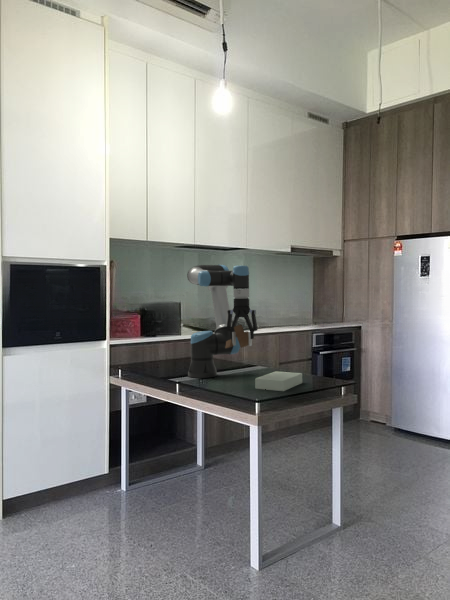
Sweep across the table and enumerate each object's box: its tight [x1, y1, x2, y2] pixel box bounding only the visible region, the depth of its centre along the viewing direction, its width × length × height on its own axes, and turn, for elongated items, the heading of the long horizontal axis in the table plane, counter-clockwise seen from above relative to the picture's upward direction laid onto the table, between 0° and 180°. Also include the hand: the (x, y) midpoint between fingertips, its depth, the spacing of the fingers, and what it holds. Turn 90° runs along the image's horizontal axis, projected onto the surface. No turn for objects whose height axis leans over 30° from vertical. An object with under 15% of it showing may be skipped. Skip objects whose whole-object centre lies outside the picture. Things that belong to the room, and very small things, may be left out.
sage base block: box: [254, 370, 303, 392], centre depth 232 cm, size 14×22×5 cm, turn 149°
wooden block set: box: [225, 324, 250, 349], centre depth 240 cm, size 18×9×10 cm, turn 146°
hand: (242, 345), depth 238 cm, fingers closed on wooden block set, 8 cm apart
